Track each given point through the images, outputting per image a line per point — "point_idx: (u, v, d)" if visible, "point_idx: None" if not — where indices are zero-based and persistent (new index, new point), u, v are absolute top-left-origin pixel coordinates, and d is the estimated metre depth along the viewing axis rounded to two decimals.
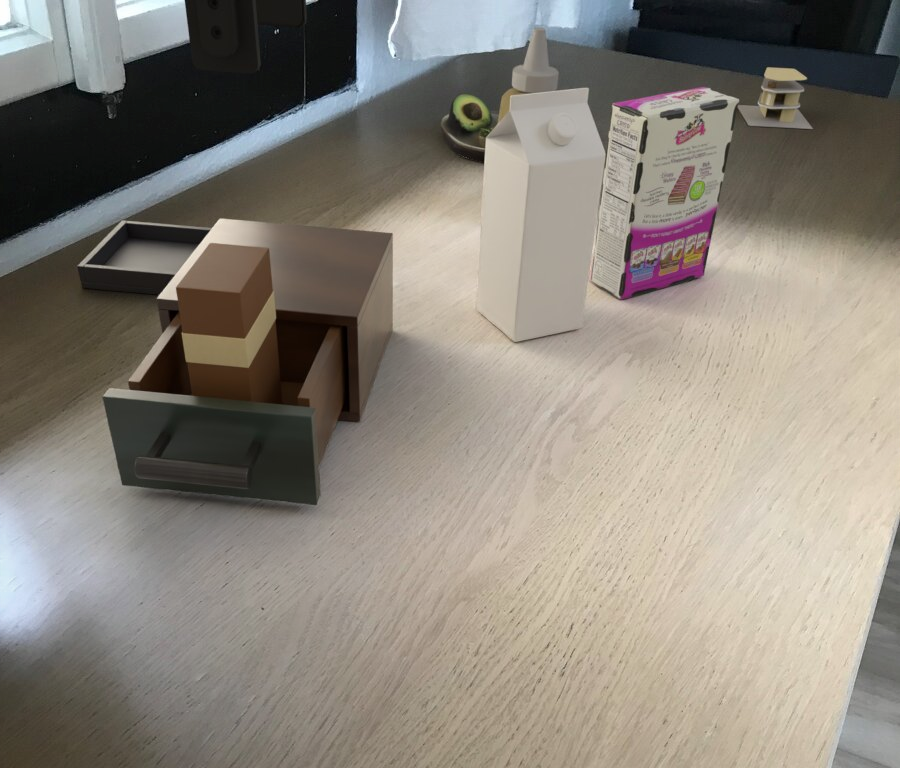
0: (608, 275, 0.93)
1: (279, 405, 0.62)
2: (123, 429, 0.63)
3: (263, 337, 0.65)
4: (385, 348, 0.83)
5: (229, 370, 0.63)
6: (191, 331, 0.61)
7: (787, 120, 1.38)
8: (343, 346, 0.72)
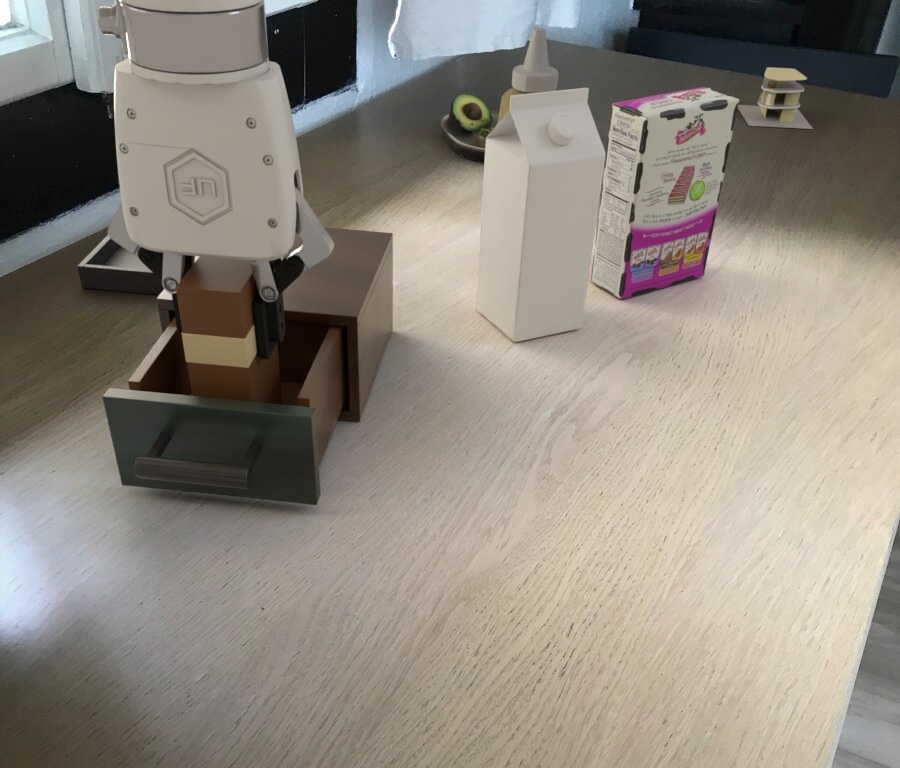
0: (608, 275, 0.93)
1: (279, 405, 0.62)
2: (123, 429, 0.63)
3: None
4: (385, 348, 0.83)
5: (229, 370, 0.63)
6: (191, 331, 0.61)
7: (787, 120, 1.38)
8: (343, 346, 0.72)
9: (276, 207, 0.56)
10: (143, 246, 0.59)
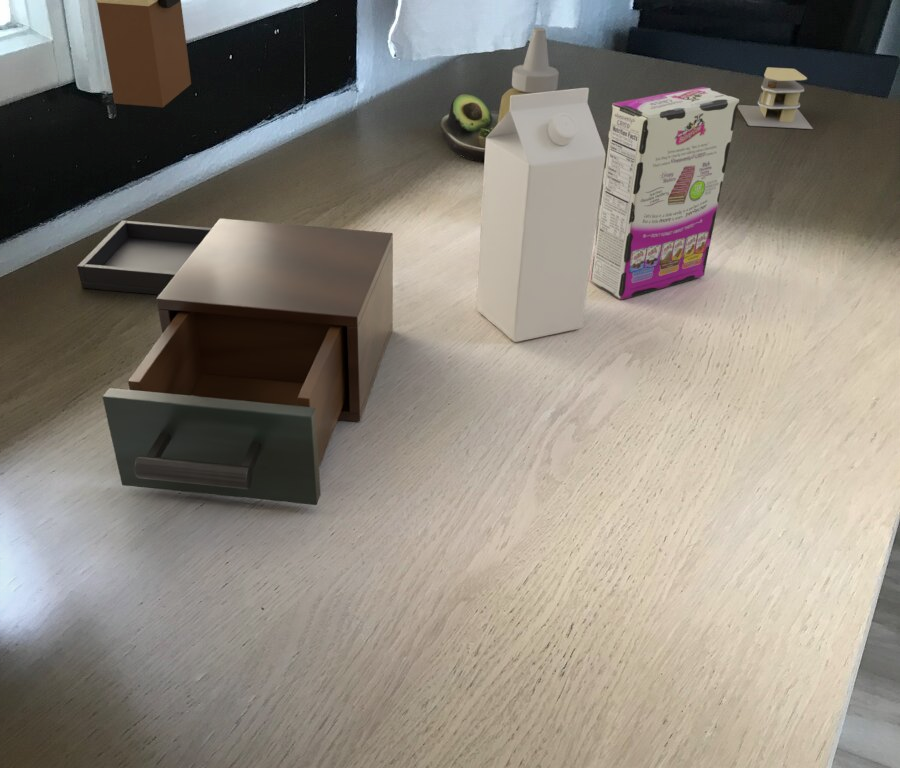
0: (608, 275, 0.93)
1: (279, 405, 0.62)
2: (123, 429, 0.63)
3: None
4: (385, 348, 0.83)
5: (132, 9, 0.73)
6: None
7: (787, 120, 1.38)
8: (343, 346, 0.72)
9: None
10: None
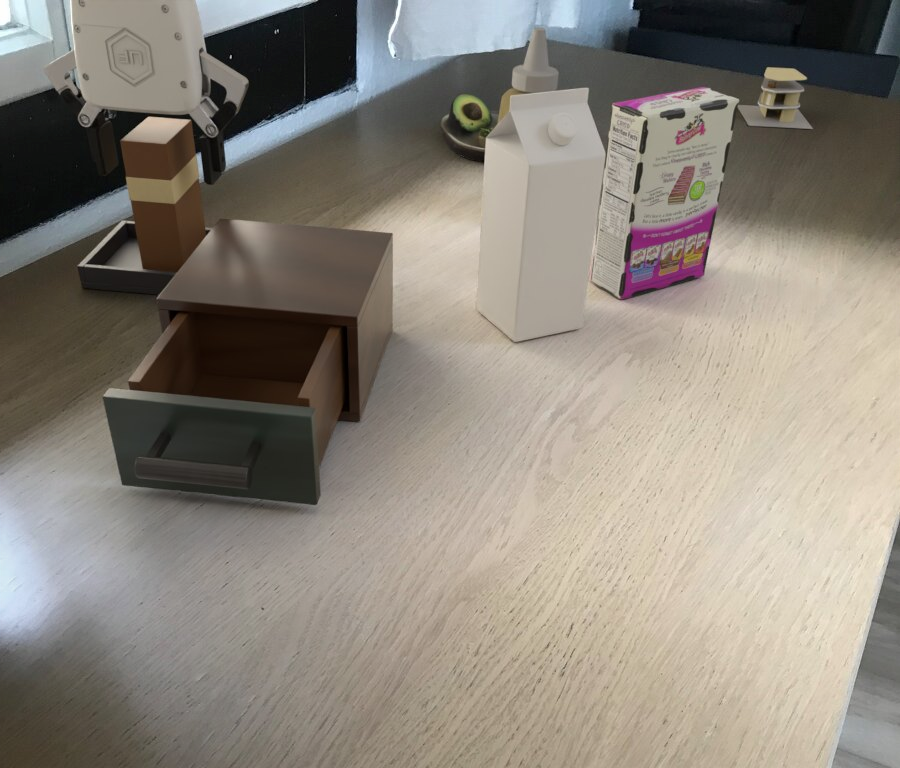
0: (608, 275, 0.93)
1: (279, 405, 0.62)
2: (123, 429, 0.63)
3: (187, 186, 0.89)
4: (385, 348, 0.83)
5: (161, 206, 0.87)
6: (132, 175, 0.85)
7: (787, 120, 1.38)
8: (343, 346, 0.72)
9: (185, 72, 0.80)
10: (93, 104, 0.82)
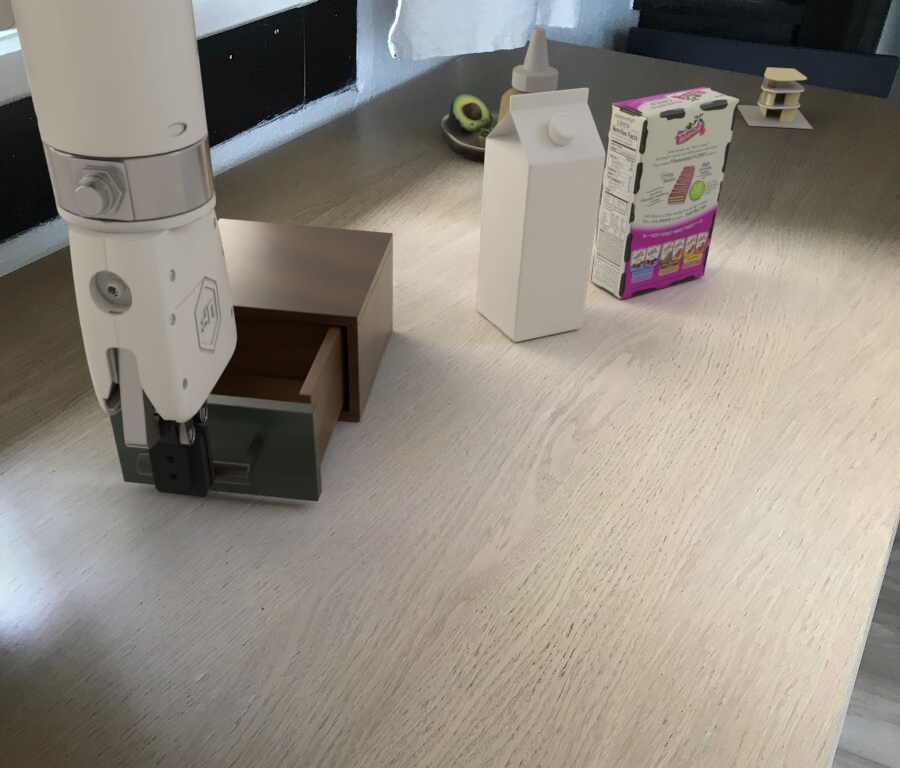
0: (608, 275, 0.93)
1: (281, 402, 0.62)
2: None
3: None
4: (385, 348, 0.83)
5: None
6: None
7: (787, 120, 1.38)
8: (344, 343, 0.72)
9: (230, 294, 0.55)
10: (191, 417, 0.51)
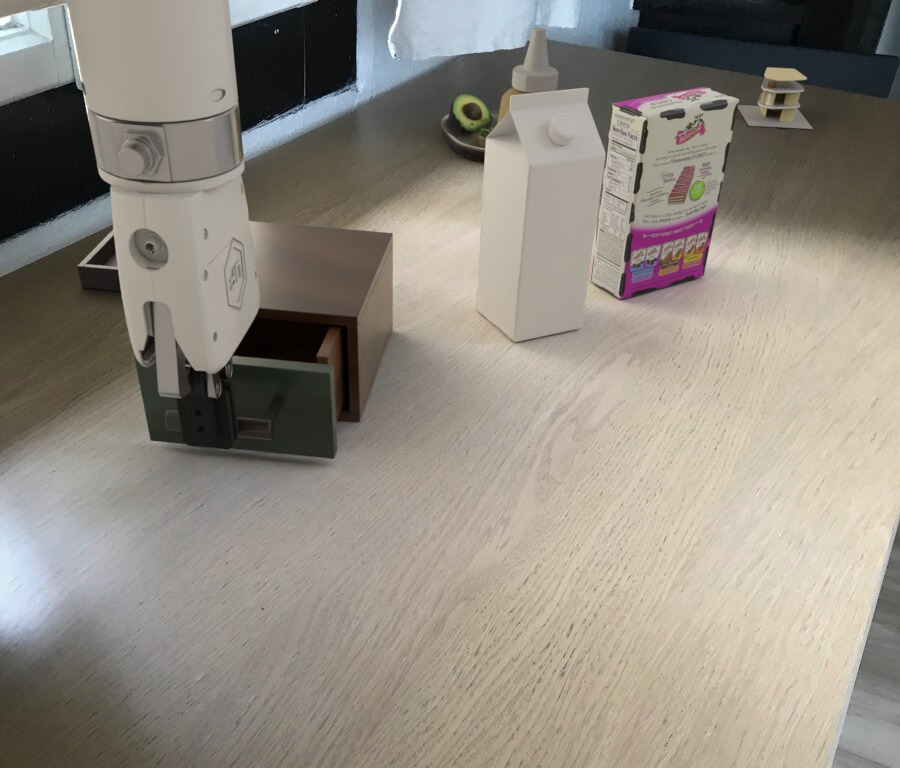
0: (608, 275, 0.93)
1: (299, 362, 0.66)
2: (153, 386, 0.67)
3: None
4: (385, 348, 0.83)
5: None
6: None
7: (787, 120, 1.38)
8: None
9: (254, 257, 0.59)
10: (220, 369, 0.55)
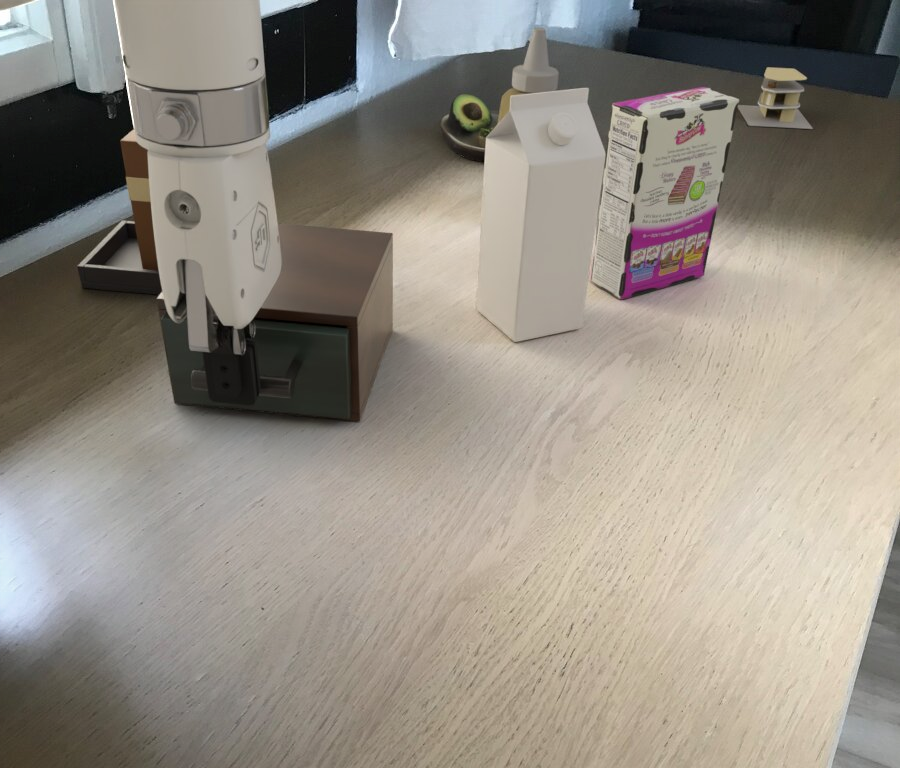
0: (608, 275, 0.93)
1: (317, 326, 0.70)
2: (178, 349, 0.71)
3: None
4: (385, 348, 0.83)
5: None
6: (132, 175, 0.85)
7: (787, 120, 1.38)
8: None
9: (277, 223, 0.63)
10: (246, 324, 0.59)
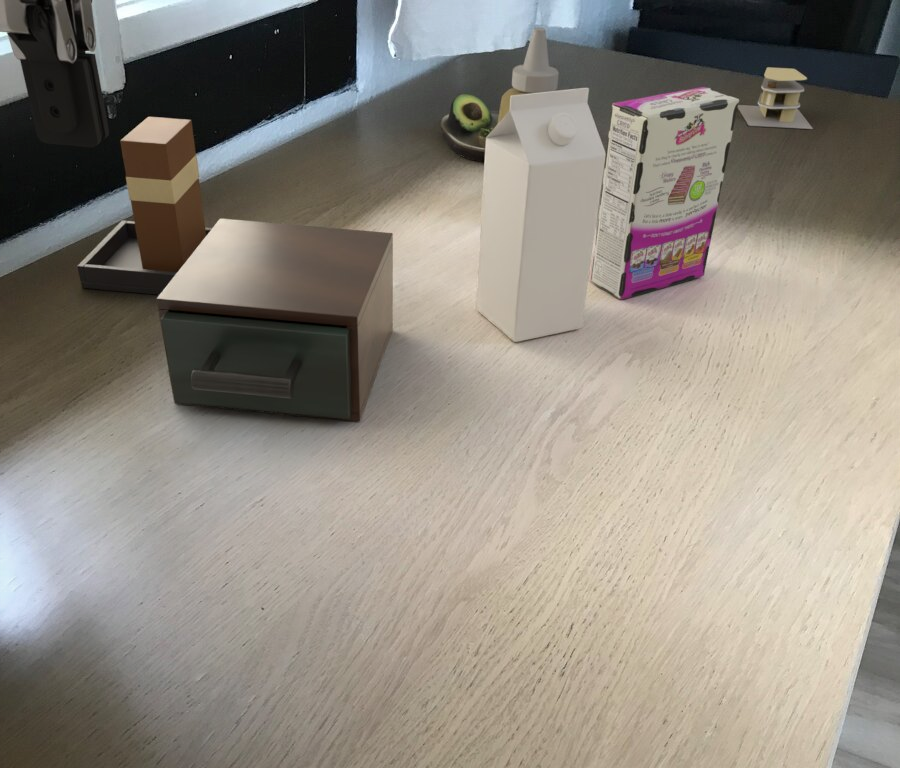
0: (608, 275, 0.93)
1: (317, 326, 0.70)
2: (178, 349, 0.71)
3: (187, 186, 0.89)
4: (385, 348, 0.83)
5: (161, 206, 0.87)
6: (132, 175, 0.85)
7: (787, 120, 1.38)
8: None
9: None
10: None
